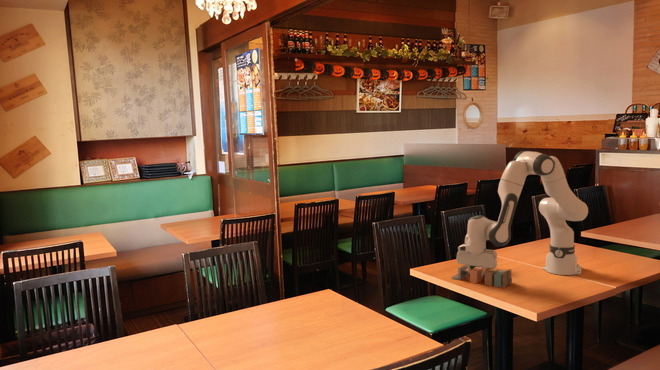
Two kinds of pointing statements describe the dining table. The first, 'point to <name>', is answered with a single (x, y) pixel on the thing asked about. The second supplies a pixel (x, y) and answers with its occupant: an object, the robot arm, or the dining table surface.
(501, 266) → the dining table surface
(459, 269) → the bookend
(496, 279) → the teal rectangular block
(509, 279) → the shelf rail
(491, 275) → the brown block
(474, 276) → the salmon pink block
